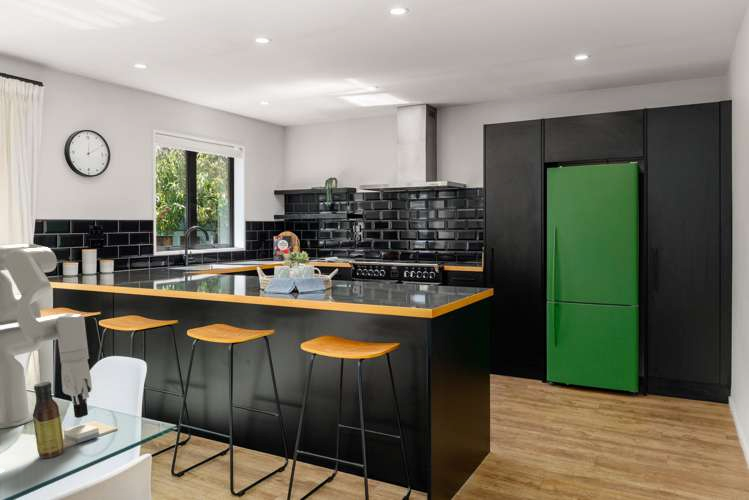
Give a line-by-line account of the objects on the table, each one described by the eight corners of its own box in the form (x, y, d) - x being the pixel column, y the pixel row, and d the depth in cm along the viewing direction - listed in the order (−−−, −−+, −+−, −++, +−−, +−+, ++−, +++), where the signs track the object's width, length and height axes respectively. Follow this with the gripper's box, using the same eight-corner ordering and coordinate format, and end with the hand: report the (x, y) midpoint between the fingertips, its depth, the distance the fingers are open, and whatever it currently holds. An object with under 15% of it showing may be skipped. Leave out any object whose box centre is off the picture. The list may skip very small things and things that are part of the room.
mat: (39, 439, 169) (39, 437, 169) (93, 422, 181) (93, 420, 181) (62, 448, 158) (61, 446, 158) (117, 429, 171) (117, 427, 171)
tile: (84, 423, 170) (63, 430, 166) (98, 427, 165) (77, 434, 160) (85, 431, 171) (64, 438, 166) (99, 435, 165) (78, 443, 160)
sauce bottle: (46, 451, 157) (37, 381, 156) (69, 449, 157) (60, 378, 157) (33, 461, 151) (24, 387, 150) (57, 458, 151) (48, 385, 150)
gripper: (50, 357, 171) (57, 417, 172) (72, 360, 162) (79, 423, 162) (76, 351, 177) (83, 409, 177) (98, 354, 167) (105, 415, 168)
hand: (81, 416), depth 170 cm, fingers closed
